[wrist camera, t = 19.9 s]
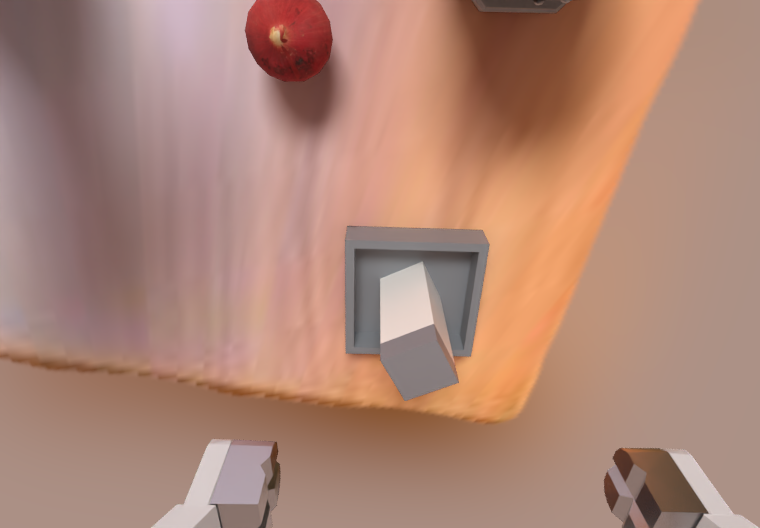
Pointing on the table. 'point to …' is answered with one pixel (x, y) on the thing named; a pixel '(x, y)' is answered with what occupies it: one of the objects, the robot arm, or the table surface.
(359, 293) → the walled box
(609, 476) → the robot arm
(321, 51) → the onion
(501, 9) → the tankard
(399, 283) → the plug
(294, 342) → the table surface
